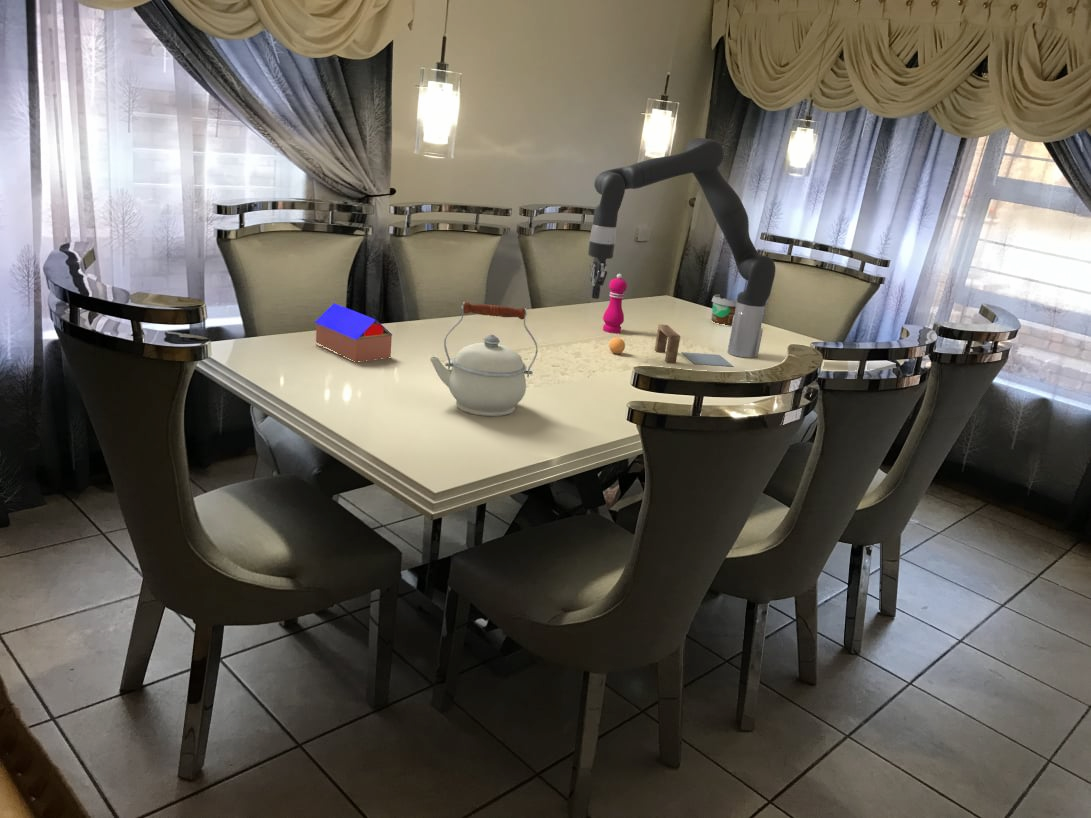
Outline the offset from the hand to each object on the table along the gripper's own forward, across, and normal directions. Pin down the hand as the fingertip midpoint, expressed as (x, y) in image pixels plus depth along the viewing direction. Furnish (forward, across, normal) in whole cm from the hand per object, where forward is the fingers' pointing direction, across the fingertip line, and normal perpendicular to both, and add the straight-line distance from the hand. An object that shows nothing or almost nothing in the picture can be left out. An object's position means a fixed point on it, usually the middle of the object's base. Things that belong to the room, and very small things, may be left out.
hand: (594, 298), depth 259 cm
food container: (+17, +56, -62) cm, 86 cm away
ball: (+14, 0, -9) cm, 17 cm away
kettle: (+17, -58, +38) cm, 72 cm away
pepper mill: (+17, +30, -14) cm, 37 cm away
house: (+18, -17, +70) cm, 75 cm away
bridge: (+17, 0, -25) cm, 30 cm away
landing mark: (+17, 0, -39) cm, 43 cm away
